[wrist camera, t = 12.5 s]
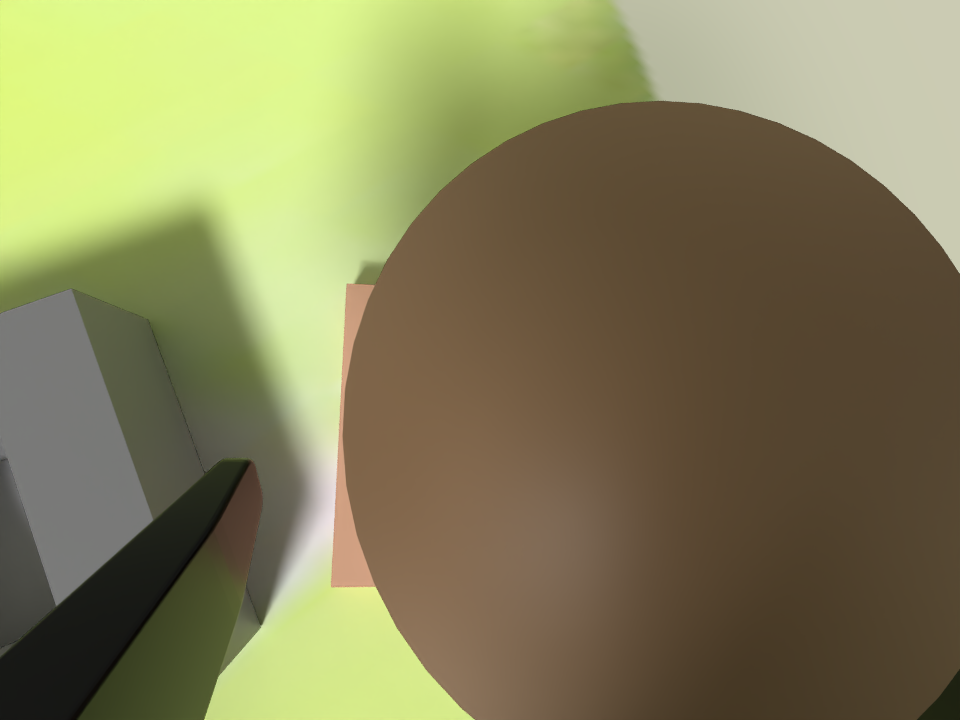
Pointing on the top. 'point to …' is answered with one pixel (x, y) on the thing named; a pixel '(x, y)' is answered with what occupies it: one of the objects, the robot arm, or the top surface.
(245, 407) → the top surface
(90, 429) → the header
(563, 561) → the plug
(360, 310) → the tile
